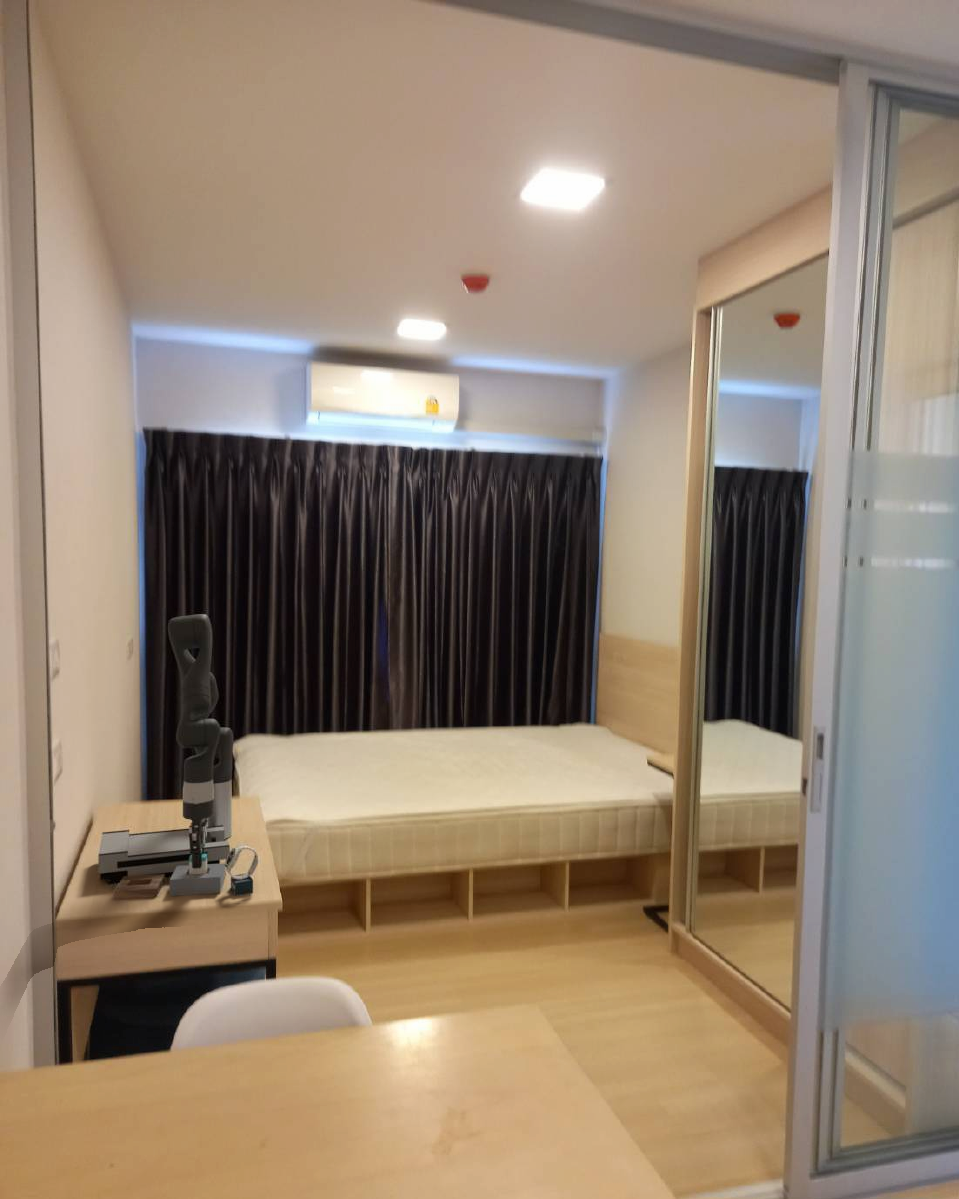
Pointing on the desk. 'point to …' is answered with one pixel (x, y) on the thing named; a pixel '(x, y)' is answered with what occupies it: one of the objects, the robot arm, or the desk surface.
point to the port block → (197, 880)
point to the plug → (198, 870)
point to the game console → (154, 852)
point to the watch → (241, 881)
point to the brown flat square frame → (139, 886)
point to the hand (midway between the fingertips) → (198, 864)
